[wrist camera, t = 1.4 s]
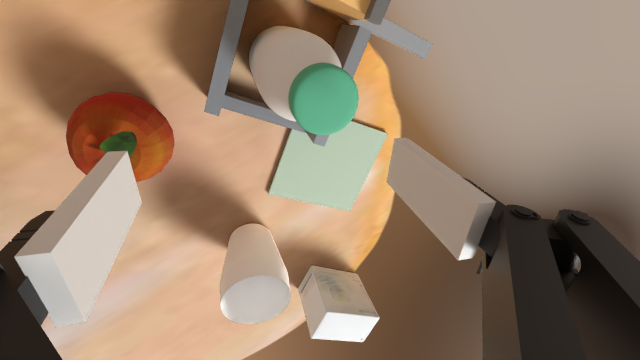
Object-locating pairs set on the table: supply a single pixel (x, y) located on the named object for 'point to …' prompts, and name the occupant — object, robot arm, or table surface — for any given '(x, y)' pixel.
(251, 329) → the table surface
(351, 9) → the tan wooden slab
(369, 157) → the mat
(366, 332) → the skincare box
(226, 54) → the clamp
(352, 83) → the milk bottle
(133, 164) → the fruit
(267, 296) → the cup
